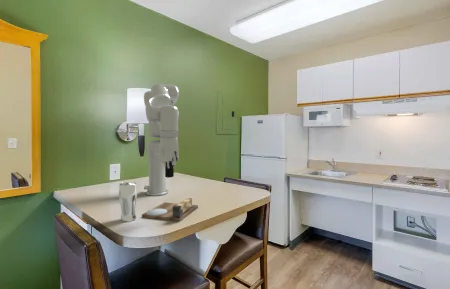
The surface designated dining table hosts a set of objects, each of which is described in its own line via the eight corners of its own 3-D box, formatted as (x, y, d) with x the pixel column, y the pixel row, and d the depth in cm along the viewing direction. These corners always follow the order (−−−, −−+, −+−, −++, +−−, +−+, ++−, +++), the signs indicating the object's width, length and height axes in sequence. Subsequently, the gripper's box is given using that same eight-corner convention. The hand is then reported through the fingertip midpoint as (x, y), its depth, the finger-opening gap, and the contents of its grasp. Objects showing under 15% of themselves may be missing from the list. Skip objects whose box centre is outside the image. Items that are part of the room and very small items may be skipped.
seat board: (141, 217, 105) (141, 205, 104) (164, 204, 123) (164, 194, 123) (180, 221, 100) (180, 208, 99) (198, 207, 118) (197, 197, 118)
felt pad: (141, 214, 105) (141, 214, 105) (153, 208, 113) (153, 207, 113) (160, 216, 102) (160, 216, 102) (171, 210, 111) (171, 209, 111)
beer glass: (122, 216, 106) (121, 182, 105) (139, 216, 106) (138, 181, 105) (116, 222, 99) (116, 185, 98) (134, 221, 99) (134, 185, 98)
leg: (186, 206, 114) (186, 197, 114) (191, 206, 113) (191, 198, 113) (172, 215, 101) (172, 206, 101) (178, 216, 100) (178, 207, 100)
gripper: (153, 134, 109) (154, 175, 110) (169, 135, 97) (169, 181, 99) (169, 134, 113) (169, 173, 115) (185, 135, 102) (185, 179, 103)
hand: (169, 176), depth 107 cm, fingers closed
